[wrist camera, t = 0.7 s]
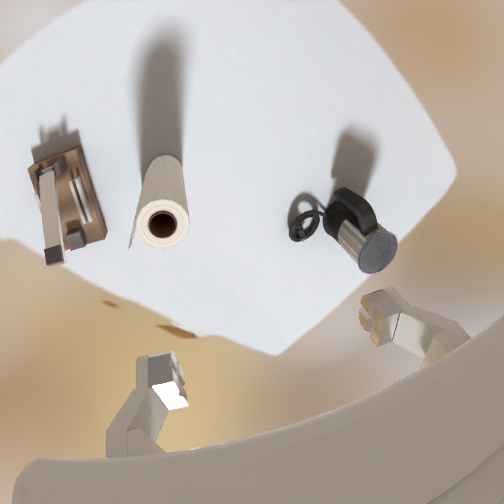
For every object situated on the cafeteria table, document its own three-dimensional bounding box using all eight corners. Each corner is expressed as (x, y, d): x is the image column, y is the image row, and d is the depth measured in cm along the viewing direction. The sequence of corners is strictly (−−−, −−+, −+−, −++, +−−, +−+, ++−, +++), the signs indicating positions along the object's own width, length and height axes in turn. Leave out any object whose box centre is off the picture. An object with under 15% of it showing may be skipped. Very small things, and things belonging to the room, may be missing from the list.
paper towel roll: (183, 153, 48) (190, 198, 31) (182, 186, 52) (190, 248, 34) (141, 155, 47) (122, 201, 29) (142, 188, 50) (128, 251, 32)
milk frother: (364, 218, 65) (403, 252, 53) (313, 262, 68) (342, 304, 56) (336, 173, 58) (379, 201, 45) (277, 223, 60) (306, 264, 48)
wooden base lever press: (34, 163, 41) (19, 174, 36) (80, 145, 43) (68, 154, 37) (63, 243, 50) (54, 262, 45) (107, 231, 52) (101, 249, 47)
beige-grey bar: (41, 172, 38) (37, 169, 37) (56, 166, 39) (52, 163, 37) (51, 267, 38) (47, 267, 37) (67, 262, 39) (62, 262, 37)
